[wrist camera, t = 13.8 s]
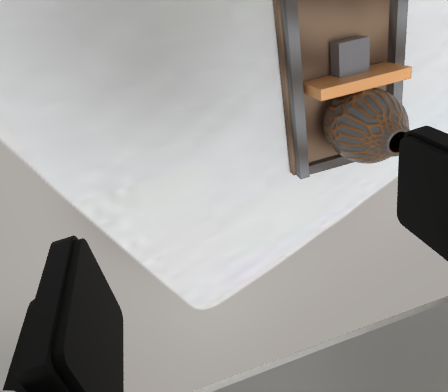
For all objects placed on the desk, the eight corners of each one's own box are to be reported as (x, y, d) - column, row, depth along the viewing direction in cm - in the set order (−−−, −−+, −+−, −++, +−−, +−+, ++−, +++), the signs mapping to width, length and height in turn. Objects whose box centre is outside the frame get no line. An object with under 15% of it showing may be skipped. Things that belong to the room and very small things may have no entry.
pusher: (299, 48, 33) (319, 53, 30) (386, 28, 34) (414, 30, 31) (302, 92, 35) (321, 101, 32) (385, 71, 36) (411, 78, 33)
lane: (266, -71, 30) (296, -88, 24) (399, -96, 31) (454, -117, 26) (290, 171, 40) (314, 195, 35) (388, 144, 42) (425, 163, 37)
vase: (379, 78, 37) (445, 96, 29) (369, 143, 40) (426, 175, 32) (315, 83, 35) (368, 104, 28) (310, 151, 39) (356, 186, 31)
